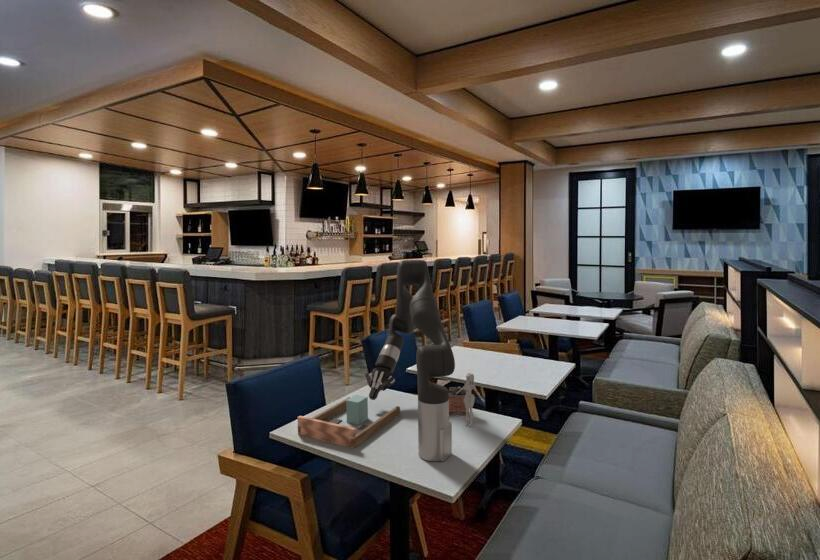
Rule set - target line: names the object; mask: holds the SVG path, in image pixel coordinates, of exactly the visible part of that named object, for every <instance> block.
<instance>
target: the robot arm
mask: <svg viewBox="0 0 820 560" xmlns="http://www.w3.org/2000/svg"><path fill="white" fill-rule="evenodd" d="M406 286H420V287H419V288H418V290H417V292H415V294H414V295H412V294H411V292H410V291H409V290H408V289H407V287H406ZM395 305H396V306H395V311H394V314H392V315H391V317H390V318H389V324H388V333H387V337H386V340H385V343H384V344H383V347H382V349H381V350H380V352H379V354H378V358H377V359H376V362H375V365H374V368H373V369H372V371H371V372H370V373H368V372H367V373H365V378H366V382H367V386H368V387H369V388H370V391H369V394H368V398H369V399H370V400H372V401H375V400H376V399H378V396H379V393H380V392H382V391H383V392H384V391H386V390H387V389H389V388H390V387H391V386H392V385H394V384H395V383H396V379H395V378H394V377H393V373H394V371H395V368H396V366H397V363H398V361H399V359H400V358H399V357H400V353H401V351H402V348H403V346H404V343H405V339H404V338H403V337H402V335H400V334H404V335H406V336H407V335H408V336H409V335H410V334H412V333H413V332H414V330H415V328H416V329H417V330H418V331H419V332H421V334H423V335H424V336H425V337H426V338H428V339H429V340H430V341H431V342H432V343H433V345H429V344H428V345H420V346H418V348H417V349H416V352H415V353H416V355H415V357H416V358H415V362H416V374H417V375H416V376H417V424H418V425H417V426H418V428H417V432H418V433H417V434H418V435H417V437H418V440H417V443H418V444H417V445H418V447H417V449H418V456H419V457H420V459H422V460H423V461H424V460H425V461H429V462H446V460H447V459H448V457H450V456H451V454H452V453H453V451H452V450H453V449H452V448H453V445H452V444H453V443H452V440H453V439H452V438H453V437H452V435H453V434H452V432H453V429H452V425H453V424H452V422H450V415H449V393H450V391H449V388H447V387H446V386H444V385H442V384H438V383H435V382H433V381H431V380H430V378H438V377H448V376H452V375H453V373H454V372H455V368H456V362H455V354H454V352H453V349H452V347H451V344H450V342H449V339H448V337H447V334H446V331H445V329H444V326H443V322H442V319H441V314H440V310H439V305H438V304H437V300H436V298H435V295H434V291H433V288H432V282H431V277H430V272H429V268H428V264H427V263H426V261H425V260H423V259H405V260H400V261H399V262H398V263H397V268H396V304H395ZM398 333H400V334H398Z"/></svg>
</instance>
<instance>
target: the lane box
mask: <svg viewBox="0 0 820 560" xmlns="http://www.w3.org/2000/svg"><path fill="white" fill-rule="evenodd" d="M351 397H352V396H351ZM351 397H349V396H348V397H347V398H345V399H344V400H342V401H340V402H338V403H336V404H334V405H332V406H331V407H329V408H327V409H325V410H323V411H322V412H320V413H317V415H314V416H312V417H309V416H308V417H307V416H303V415H299V416H297V435H298V436H303V437H307V438H310V439H315V440H318V441H324V442H328V443H330V444H331V443H332V444H335V445H339V446H344V447H348V448H351V449H355V448H356V447H358V446H359V445H361V444H362V443H364V442H365V441H366V440H367V439H369V438H370V437H371V436H373V435H374V434H376V433H377V432H379V431H380V430H382V428H384V427H385V426H387V425H388V424H390V423H391V422H392V421H393V420H394V419H396V418H397V417H398V416H400V415H401V407H400V406H398V405H397V406H395V407H394V408H392V409H391V410H389V411H388V412H385V414H383V415H381V416H380V417H379V418H378V419H376V420H375V421H374V422H372V423H370V424H369V425H368V427H366V428H365V429H363V430H362V431H360V432H359V433H357V434H356V429H357V428H356V427H352V426H347V425H344V424H339V423H338V424H335V423H330V422H326V421H327V420H329V419H330V418H334V417H335V416H336V415H338V414H340V413H341V412H343V411H344V410H346V400H348V399H349V398H351Z"/></svg>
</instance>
